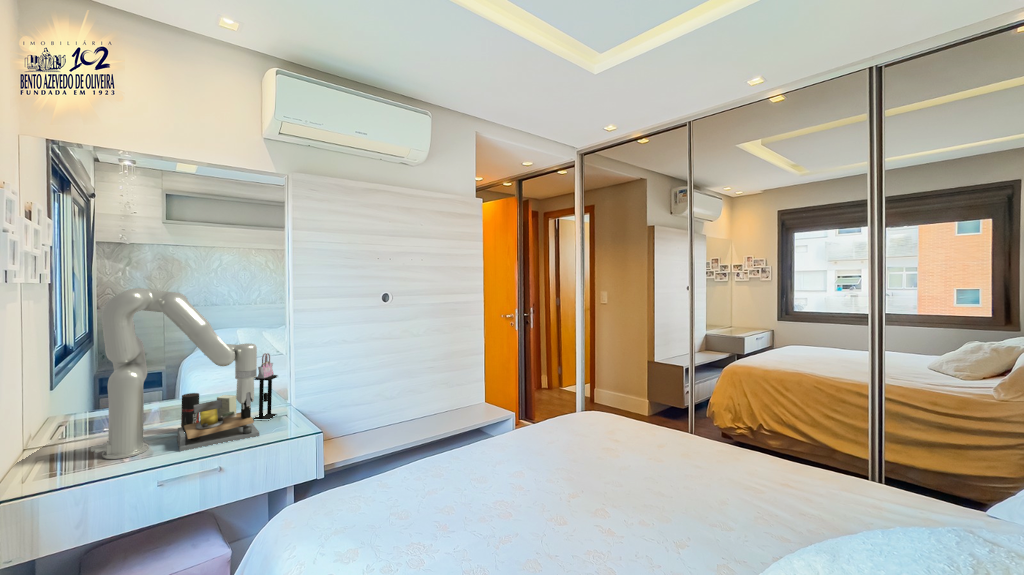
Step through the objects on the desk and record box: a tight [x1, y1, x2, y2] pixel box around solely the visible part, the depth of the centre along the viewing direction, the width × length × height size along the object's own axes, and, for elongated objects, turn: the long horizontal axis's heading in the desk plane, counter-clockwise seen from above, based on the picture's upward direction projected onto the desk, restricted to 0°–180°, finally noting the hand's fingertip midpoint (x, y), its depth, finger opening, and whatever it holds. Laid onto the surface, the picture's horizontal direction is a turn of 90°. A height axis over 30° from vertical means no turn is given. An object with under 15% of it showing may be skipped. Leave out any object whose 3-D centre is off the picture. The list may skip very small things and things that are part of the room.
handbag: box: [252, 352, 279, 422], centre depth 199 cm, size 10×8×30 cm
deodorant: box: [180, 392, 200, 434], centre depth 180 cm, size 6×6×15 cm
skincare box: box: [216, 394, 237, 418], centre depth 190 cm, size 6×4×12 cm
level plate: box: [184, 399, 255, 439], centre depth 173 cm, size 22×14×10 cm, turn 132°
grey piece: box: [176, 423, 260, 452], centre depth 174 cm, size 26×14×5 cm, turn 132°
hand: (245, 417), depth 178 cm, fingers closed
